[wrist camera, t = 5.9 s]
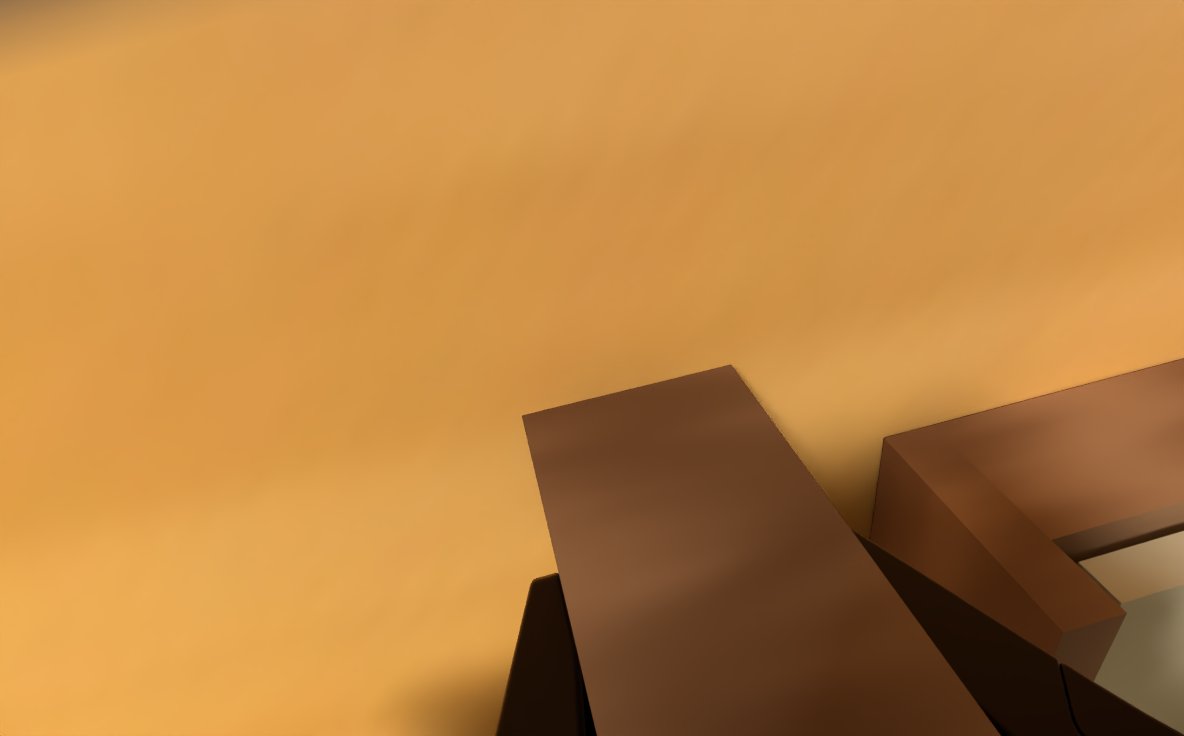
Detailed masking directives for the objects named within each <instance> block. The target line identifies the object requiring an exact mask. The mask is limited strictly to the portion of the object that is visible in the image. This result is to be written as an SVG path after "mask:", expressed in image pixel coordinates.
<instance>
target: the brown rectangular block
mask: <svg viewBox="0 0 1184 736" xmlns="http://www.w3.org/2000/svg"><path fill="white" fill-rule="evenodd" d="M522 418H523V422H524V427H525V431H526V435H527V439H528V444H529V448H530V452H531V457H532V461H533V465H534V469H535V474H536V478H537V482H538V486H539V491H540V495H541V499H542V503H543V508H544V512H545V516H546V520H547V525H548V529H549V533H550V537H551V542H552V546H553V550H554V554H555V559H556V563H557V567H558V571H559V576H560V580H561V584H562V588H563V593H564V597H565V601H566V605H567V610H568V614H569V618H570V622H571V627H572V631H573V635H574V639H575V644H576V648H577V652H578V657H579V661H580V665H581V669H582V674H583V678H584V682H585V686H586V691H587V695H588V699H589V703H590V708H591V712H592V716H593V720H594V725H595V729H596V733H597V736H1001V735H1000V734H999V733H998V731H997V730H996V728H995V727H994V726H993V724H992V723H991V722H990V720H989V719H988V717H987V716H986V715H985V713H984V712H983V710H982V709H981V708H980V706H979V705H978V704H977V702H976V701H975V699H974V698H973V697H972V695H971V694H970V693H969V691H968V690H967V688H966V687H965V686H964V684H963V683H962V682H961V680H960V679H959V677H958V676H957V675H956V673H955V672H954V671H953V669H952V668H951V666H950V665H949V664H948V662H947V661H946V660H945V658H944V657H943V655H942V654H941V653H940V651H939V650H938V649H937V647H936V646H935V644H934V643H933V642H932V640H931V639H930V638H929V636H928V635H927V633H926V632H925V631H924V629H923V628H922V627H921V625H920V624H919V622H918V621H917V620H916V618H915V617H914V616H913V614H912V613H911V611H910V610H909V609H908V607H907V606H906V605H905V603H904V602H903V600H902V599H901V598H900V596H899V595H898V594H897V592H896V591H895V589H894V588H893V587H892V585H891V584H890V583H889V581H888V580H887V578H886V577H885V576H884V574H883V573H882V572H881V570H880V569H879V567H878V566H877V565H876V563H875V562H874V561H873V559H872V558H871V556H870V555H869V554H868V552H867V551H866V550H865V548H864V547H863V545H862V544H861V543H860V541H859V540H858V539H857V537H856V536H855V534H854V533H853V532H852V530H851V529H850V528H849V526H848V525H847V523H846V522H845V521H844V519H843V518H842V517H841V515H840V514H839V512H838V511H837V510H836V508H835V507H834V506H833V504H832V503H831V501H830V500H829V499H828V497H827V496H826V495H825V493H824V492H823V490H822V489H821V488H820V486H819V485H818V484H817V482H816V481H815V479H814V478H813V477H812V475H811V474H810V473H809V471H808V470H807V468H806V467H805V466H804V464H803V463H802V462H801V460H800V459H799V457H798V456H797V455H796V453H795V452H794V451H793V449H792V448H791V446H790V445H789V444H788V442H787V441H786V440H785V438H784V437H783V435H782V434H781V433H780V431H779V430H778V429H777V427H776V426H775V424H774V423H773V422H772V420H771V419H770V418H769V416H768V415H767V413H766V412H765V411H764V409H763V408H762V406H761V405H760V404H759V402H758V401H757V400H756V398H755V397H754V395H753V394H752V393H751V391H750V390H749V389H748V387H747V386H746V384H745V383H744V382H743V380H742V379H741V378H740V376H739V375H738V373H737V372H736V371H735V369H734V368H733V367H732V365H728V366H723V367H719V368H715V369H711V370H707V371H703V372H699V373H695V374H691V375H687V376H682V377H678V378H674V379H670V380H666V381H662V382H658V383H654V384H650V385H646V386H642V387H637V388H633V389H629V390H625V391H621V392H617V393H613V394H609V395H605V396H601V397H596V398H592V399H588V400H584V401H580V402H576V403H572V404H568V405H564V406H560V407H556V408H551V409H547V410H543V411H539V412H535V413H531V414H527V415H523V416H522Z"/></svg>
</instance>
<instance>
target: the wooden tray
mask: <svg viewBox="0 0 1184 736" xmlns="http://www.w3.org/2000/svg"><path fill="white" fill-rule="evenodd" d="M1182 531H1184V359H1181V360H1177V361H1173V362H1170V363H1166V364H1162V365H1158V366H1154V367H1151V368H1147V369H1143V370H1139V371H1135V372H1132V373H1128V374H1124V375H1120V376H1117V377H1113V378H1109V379H1105V380H1101V381H1098V382H1094V383H1090V384H1086V385H1082V386H1079V387H1075V388H1071V389H1067V390H1064V391H1060V392H1056V393H1052V394H1048V395H1045V396H1041V397H1037V398H1033V399H1029V400H1026V401H1022V402H1018V403H1014V404H1011V405H1007V406H1003V407H999V408H995V409H992V410H988V411H984V412H980V413H976V414H973V415H969V416H965V417H961V418H958V419H954V420H950V421H946V422H942V423H939V424H935V425H931V426H927V427H923V428H920V429H916V430H912V431H908V432H905V433H901V434H897V435H893V436H889V437H886V438H884V443H883V450H882V458H881V465H880V472H879V479H878V486H877V494H876V501H875V508H874V515H873V522H872V530H871V537H870V540H871V541H872V542H874V543H876V544H877V545H879V546H880V547H882V548H883V549H885V550H887V551H888V552H890V553H891V554H893V555H895V556H896V557H898V558H899V559H901V560H902V561H904V562H906V563H907V564H909V565H910V566H912V567H913V568H915V569H917V570H918V571H920V572H921V573H923V574H925V575H926V576H928V577H929V578H931V579H932V580H934V581H936V582H937V583H939V584H940V585H942V586H943V587H945V588H947V589H948V590H950V591H951V592H953V593H954V594H956V595H958V596H959V597H961V598H962V599H964V600H966V601H967V602H969V603H970V604H972V605H973V606H975V607H977V608H978V609H980V610H981V611H983V612H984V613H986V614H988V615H989V616H991V617H992V618H994V619H996V620H997V621H999V622H1000V623H1002V624H1003V625H1005V626H1007V627H1008V628H1010V629H1011V630H1013V631H1014V632H1016V633H1018V634H1019V635H1021V636H1022V637H1024V638H1026V639H1027V640H1029V641H1030V642H1032V643H1033V644H1035V645H1037V646H1038V647H1040V648H1041V649H1043V650H1044V651H1046V652H1048V653H1049V654H1051V655H1052V656H1054V657H1056V658H1057V659H1058V661H1059V664H1061V663H1065V664H1067V665H1069V666H1070V667H1072V668H1073V669H1075V670H1076V671H1078V672H1080V673H1081V674H1083V675H1084V676H1086V677H1088V678H1089V679H1091V680H1092V681H1094V680H1095V678H1096V676H1097V674H1098V672H1099V670H1100V668H1101V666H1102V664H1103V661H1104V659H1105V657H1106V655H1107V653H1108V651H1109V649H1110V647H1111V645H1112V643H1113V641H1114V639H1115V637H1116V635H1117V633H1118V631H1119V629H1120V627H1121V625H1122V623H1123V621H1124V619H1125V616H1126V614H1127V612H1125V611H1124V610H1123V609H1122V608H1121V607H1120V606H1119V605H1118V604H1117V603H1116V602H1115V601H1114V600H1113V599H1112V598H1111V597H1110V596H1109V595H1108V594H1107V593H1106V592H1105V591H1104V590H1103V589H1102V588H1101V587H1100V586H1099V585H1097V584H1096V583H1095V582H1094V581H1093V580H1092V579H1091V578H1090V577H1089V576H1088V575H1087V574H1086V573H1085V572H1084V571H1083V570H1082V569H1081V568H1080V567H1079V566H1078V565H1077V564H1078V562H1080V561H1083V560H1087V559H1090V558H1094V557H1097V556H1100V555H1104V554H1107V553H1111V552H1114V551H1117V550H1121V549H1124V548H1127V547H1131V546H1134V545H1138V544H1141V543H1144V542H1148V541H1151V540H1155V539H1158V538H1161V537H1165V536H1168V535H1171V534H1175V533H1178V532H1182Z"/></svg>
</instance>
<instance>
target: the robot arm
mask: <svg viewBox="0 0 1184 736" xmlns="http://www.w3.org/2000/svg"><path fill="white" fill-rule="evenodd" d="M849 528H850V527H849ZM850 529H851V530H852V532H853V533H854V534H855V536H856V537H857V539H858V540H859V541H860V543H861V544H862V545H863V547H864V548H865V550H866V551H867V552H868V554H869V555H870V556H871V558H872V559H873V561H874V562H875V563H876V565H877V566H878V567H879V569H880V570H881V572H882V573H883V574H884V576H885V577H886V578H887V580H888V581H889V583H890V584H891V585H892V587H893V588H894V589H895V591H896V592H897V594H898V595H899V596H900V598H901V599H902V600H903V602H904V603H905V605H906V606H907V607H908V609H909V610H910V611H911V613H912V614H913V616H914V617H915V618H916V620H917V621H918V622H919V624H920V625H921V627H922V628H923V629H924V631H925V632H926V633H927V635H928V636H929V638H930V639H931V640H932V642H933V643H934V644H935V646H936V647H937V649H938V650H939V651H940V653H941V654H942V655H943V657H944V658H945V660H946V661H947V662H948V664H949V665H950V666H951V668H952V669H953V671H954V672H955V673H956V675H957V676H958V677H959V679H960V680H961V682H962V683H963V684H964V686H965V687H966V688H967V690H968V691H969V693H970V694H971V695H972V697H973V698H974V699H975V701H976V702H977V704H978V705H979V706H980V708H981V709H982V710H983V712H984V713H985V715H986V716H987V717H988V719H989V720H990V722H991V723H992V724H993V726H994V727H995V728H996V730H997V731H998V733H999V734H1000V735H1001V736H1184V734H1182V733H1181V732H1179V731H1177V730H1175V729H1173V728H1172V727H1170V726H1168V725H1166V724H1164V723H1163V722H1161V721H1159V720H1157V719H1156V718H1154V717H1152V716H1150V715H1148V714H1147V713H1145V712H1143V711H1142V710H1140V709H1138V708H1137V707H1135V706H1133V705H1132V704H1130V703H1128V702H1127V701H1125V700H1123V699H1122V698H1120V697H1118V696H1117V695H1115V694H1114V693H1112V692H1110V691H1109V690H1107V689H1105V688H1104V687H1102V686H1100V685H1099V684H1097V683H1095V682H1094V681H1092V680H1091V679H1089V678H1088V677H1086V676H1084V675H1083V674H1081V673H1080V672H1078V671H1076V670H1075V669H1073V668H1072V667H1070V666H1069V665H1067V664H1065V663H1061V664H1059V661H1058V659H1057V658H1056V657H1054V656H1052V655H1051V654H1049V653H1048V652H1046V651H1044V650H1043V649H1041V648H1040V647H1038V646H1037V645H1035V644H1033V643H1032V642H1030V641H1029V640H1027V639H1026V638H1024V637H1022V636H1021V635H1019V634H1018V633H1016V632H1014V631H1013V630H1011V629H1010V628H1008V627H1007V626H1005V625H1003V624H1002V623H1000V622H999V621H997V620H996V619H994V618H992V617H991V616H989V615H988V614H986V613H984V612H983V611H981V610H980V609H978V608H977V607H975V606H973V605H972V604H970V603H969V602H967V601H966V600H964V599H962V598H961V597H959V596H958V595H956V594H954V593H953V592H951V591H950V590H948V589H947V588H945V587H943V586H942V585H940V584H939V583H937V582H936V581H934V580H932V579H931V578H929V577H928V576H926V575H925V574H923V573H921V572H920V571H918V570H917V569H915V568H913V567H912V566H910V565H909V564H907V563H906V562H904V561H902V560H901V559H899V558H898V557H896V556H895V555H893V554H891V553H890V552H888V551H887V550H885V549H883V548H882V547H880V546H879V545H877V544H876V543H874V542H872V541H871V540H869V539H868V538H866V537H865V536H863V535H861V534H860V533H858V532H857V531H855V530H853V529H852V528H850ZM495 736H597V733H596V729H595V725H594V720H593V716H592V712H591V708H590V703H589V699H588V695H587V691H586V686H585V682H584V678H583V674H582V669H581V665H580V661H579V657H578V652H577V648H576V644H575V639H574V635H573V631H572V627H571V622H570V618H569V614H568V610H567V605H566V601H565V597H564V593H563V588H562V584H561V580H560V576H559V574H558V573H554V574H550V575H547V576H543V577H539V578H536V579H534V580H533V581H532V583H531V585H530V588H529V592H528V597H527V601H526V605H525V609H524V614H523V618H522V622H521V626H520V631H519V635H518V639H517V643H516V648H515V652H514V656H513V661H512V665H511V669H510V673H509V678H508V682H507V686H506V690H505V695H504V699H503V703H502V707H501V712H500V716H499V720H498V724H497V729H496V733H495Z"/></svg>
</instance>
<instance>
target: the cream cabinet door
mask: <svg viewBox="0 0 1184 736" xmlns="http://www.w3.org/2000/svg"><path fill="white" fill-rule="evenodd" d="M1077 565H1078V566H1079V567H1080V568H1081V569H1082V570H1083V571H1084V572H1085V573H1086V574H1087V575H1088V576H1089V577H1090V578H1091V579H1092V580H1093V581H1094V582H1095V583H1096V584H1097V585H1099V586H1100V587H1101V588H1102V589H1103V590H1104V591H1105V592H1106V593H1107V594H1108V595H1109V596H1110V597H1111V598H1112V599H1113V600H1114V601H1115V602H1116V603H1117V604H1118V605H1119V606H1120V607H1121V608H1122V609H1123V610H1124V611H1125V612H1127V614H1126V616H1125V619H1124V621H1123V623H1122V625H1121V627H1120V629H1119V631H1118V633H1117V635H1116V637H1115V639H1114V641H1113V643H1112V645H1111V647H1110V649H1109V651H1108V653H1107V655H1106V657H1105V659H1104V661H1103V664H1102V666H1101V668H1100V670H1099V672H1098V674H1097V676H1096V678H1095V680H1094V682H1095V683H1097V684H1099V685H1100V686H1102V687H1104V688H1105V689H1107V690H1109V691H1110V692H1112V693H1114V694H1115V695H1117V696H1118V697H1120V698H1122V699H1123V700H1125V701H1127V702H1128V703H1130V704H1132V705H1133V706H1135V707H1137V708H1138V709H1140V710H1142V711H1143V712H1145V713H1147V714H1148V715H1150V716H1152V717H1154V718H1156V719H1157V720H1159V721H1161V722H1163V723H1164V724H1166V725H1168V726H1170V727H1172V728H1173V729H1175V730H1177V731H1179V732H1181V733H1182V734H1184V531H1182V532H1178V533H1175V534H1171V535H1168V536H1165V537H1161V538H1158V539H1155V540H1151V541H1148V542H1144V543H1141V544H1138V545H1134V546H1131V547H1127V548H1124V549H1121V550H1117V551H1114V552H1111V553H1107V554H1104V555H1100V556H1097V557H1094V558H1090V559H1087V560H1083V561H1080V562H1078V564H1077Z"/></svg>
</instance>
